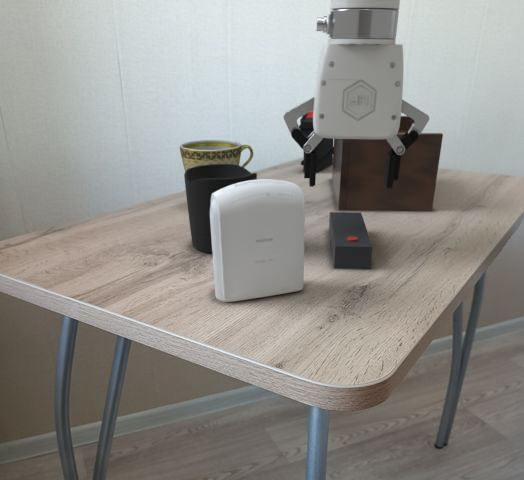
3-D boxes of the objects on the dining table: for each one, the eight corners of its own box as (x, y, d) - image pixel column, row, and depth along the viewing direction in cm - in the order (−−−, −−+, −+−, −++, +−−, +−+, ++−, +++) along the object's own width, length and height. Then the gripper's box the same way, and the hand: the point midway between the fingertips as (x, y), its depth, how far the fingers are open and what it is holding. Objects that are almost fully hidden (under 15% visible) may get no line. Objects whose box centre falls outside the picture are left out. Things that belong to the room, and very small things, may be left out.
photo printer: (220, 306, 59) (214, 189, 53) (210, 291, 62) (203, 180, 56) (308, 293, 62) (312, 180, 56) (294, 279, 65) (297, 172, 59)
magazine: (339, 154, 126) (333, 91, 114) (320, 190, 119) (311, 128, 108) (323, 152, 127) (316, 90, 115) (304, 189, 121) (294, 127, 109)
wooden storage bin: (408, 181, 109) (418, 104, 102) (431, 212, 90) (445, 120, 83) (331, 180, 110) (335, 104, 103) (338, 211, 91) (343, 120, 84)
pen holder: (179, 253, 73) (172, 177, 68) (203, 232, 81) (199, 162, 76) (246, 259, 71) (244, 181, 66) (265, 237, 79) (265, 165, 74)
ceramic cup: (201, 217, 88) (196, 152, 83) (174, 204, 95) (169, 143, 90) (268, 205, 94) (268, 144, 89) (239, 193, 101) (237, 136, 96)
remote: (359, 232, 81) (361, 210, 79) (370, 270, 68) (373, 244, 66) (328, 232, 81) (329, 210, 79) (333, 269, 68) (335, 244, 66)
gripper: (284, 28, 59) (281, 190, 67) (448, 29, 58) (424, 193, 66) (286, 29, 65) (282, 177, 74) (433, 30, 65) (413, 180, 73)
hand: (349, 185), depth 70 cm, fingers open, 9 cm apart
